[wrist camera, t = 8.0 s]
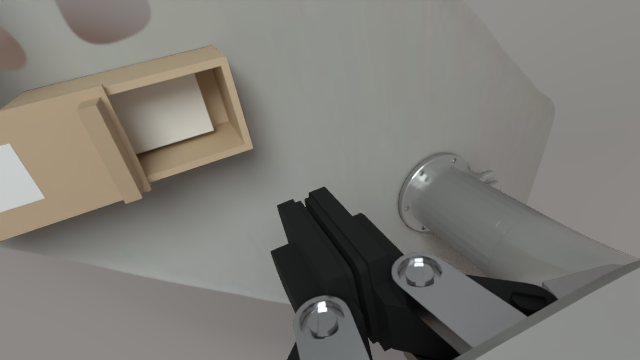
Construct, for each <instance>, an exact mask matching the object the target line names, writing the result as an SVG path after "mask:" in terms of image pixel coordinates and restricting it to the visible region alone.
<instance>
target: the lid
mask: <svg viewBox="0 0 640 360" xmlns="http://www.w3.org/2000/svg"><path fill="white" fill-rule="evenodd" d="M151 190H152V187H151V185H150V183H149V181H148V179H147V177H146V174H145V172H144V170H143V168H142V166H141V164H140V162H139V160H138V158H137V156H136V153H135V151H134V149H133V147H132V145H131V143H130V141H129V139H128V137H127V135H126V132H125V130H124V128H123V126H122V124H121V122H120V120H119V118H118V116H117V114H116V111H115V109H114V107H113V105H112V103H111V101H110V99H109V97H108V95H107V93H106V90H105V88H104V86H103V84H100V85H96V86H92V87H88V88H84V89H80V90H76V91H72V92H68V93H64V94H60V95H56V96H52V97H48V98H44V99H41V100H37V101H33V102H29V103H25V104H21V105H17V106H13V107H9V108H5V109H1V110H0V241H2V240H5V239H8V238H11V237H14V236H17V235H20V234H23V233H26V232H29V231H32V230H35V229H38V228H41V227H44V226H47V225H50V224H53V223H56V222H59V221H62V220H65V219H68V218H71V217H74V216H77V215H80V214H83V213H86V212H89V211H92V210H95V209H98V208H101V207H104V206H107V205H110V204H113V203H116V202H119V201H122V200H124V202H125V204H127V203H130V202H133V201H136V200H139V199H142V198H143V193H145V192H148V191H151Z"/></svg>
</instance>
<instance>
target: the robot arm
mask: <svg viewBox="0 0 640 360" xmlns="http://www.w3.org/2000/svg"><path fill="white" fill-rule="evenodd" d="M492 178H494V173H493V171H492V170H488V171H485V172H483V173H481V174H477V173H475V172H473V171H471V169H470V166H469V165H468V163H467V162H466V161H465V160H464V159H463V158H461V157H459V156H457V155H455V154H452V153H439V154H436V155H433V156H430V157H429V158H427V159H425V160H424V161H422V162H421V163H420V164H419V165H417V166H416V167H415V169H414V170H413V171H412V172H411V173H410V174H409V176H408V177H407V179H406V181H405V183H404V185H403V187H402V189H401V192H400V196H399V212H400V216H401V218H402V220H403V221H404V222H405V223H406V224H407V225H408V226H409V227H410V228H412V229H414V230H416V231H420V232H429V231H432V232H433V233H434V234H435V235H437V236H438V237H439V238H440V239H442V240H443V241H444V242H445V243H447V244H448V245H449V246H450V247H451V248H453V249H454V250H455V251H456V252H458V253H459V254H460V255H461V256H463V257H464V258H465V259H466V260H467V261H469V262H470V263H471V264H472V265H474V266H475V267H476V268H477V269H479V270H480V271H481V272H482V273H484V274H485V275H486V276H487V277H488V278H486V277H479V276H471V275H464V274H463V273H461V272H460V271H458V270H457V269H455V268H454V267H452V266H451V265H449V264H448V263H446V262H445V261H443V260H442V259H440V258H439V257H437V256H435V255H433V254H430V253H425V252H413V253H408V254H406V255H404V254H403V253H402V252H401V251H400V250H399V249H398V248H397V247H396V246H395V245H394V244H393V243H392V242H391V241H390V240H389V239H388V238H387V237H386V236H385V235H384V234H383V233H382V232H381V231H380V230H379V229H378V228H377V227H376V226H375V225H374V224H373V223H372V222H371V221H370V220H369V219H368V218H367V217H366V216H365V215H363V214H362V213H359V214H357V215H355V216H352V215H351V214H350V213H349V212H348V211H347V210H346V209H345V208H344V207H343V206H342V205H341V204H340V202H339V201H338V200H337V199H336V198H335V197H334V196H333V195H332V194H331V193H330V192H329V191H328V190H327V189H326V188H325V187H322V188H319V189H317V190H314V191H312V192H309V197H308V198H306V199H305V205H306V207H305V206H304V205H303V203H302V202H301V201H298V202H295V201H294V200H293V199H292V200H289V201H287V202H284V203H282V204H279V205H277V208H278V211H279V215H280V218H281V221H282V224H283V227H284V230H285V233H286V236H287V240H288V243H289V244H287V245H284V246H282V247H279V248H277V249H275V250H272V251H271V255H272V258H273V261H274V263H275V266H276V269H277V272H278V274H279V277H280V280H281V282H282V284H283V287H284V289H285V292H286V294H287V296H288V298H289V300H290V303H291V305H292V307H293V309H294V311H295V317H294V320H293V329H294V333H295V338H296V342H295V345H294V347H293V349H292V351H291V353H290V355H289V357H288V359H287V360H373V359H372V355H371V350H370V346H369V341H368V338H369V339H370V341H371V342H372V343H373V344H374V343H376V342H379V343H380V345H381V346H382V348H383V349H384V351H386V350H388V349H390V348H393V349H396V350H400V351H403V352H404V355H405V357H406V358H407V360H640V258H637V257H634V256H632V255H629V254H626V253H624V252H621V251H619V250H616V249H614V248H611V247H609V246H607V245H604V244H602V243H600V242H597V241H595V240H593V239H590V238H588V237H586V236H584V235H582V234H580V233H578V232H576V231H574V230H572V229H570V228H568V227H566V226H564V225H562V224H561V223H559V222H557V221H555V220H553V219H551V218H549V217H548V216H546V215H544V214H542V213H540V212H538V211H536V210H535V209H532V208H531V207H529V206H527V205H525V204H523V203H522V202H520V201H518V200H516V199H514V198H512V197H510V196H509V195H507V194H505V193H503V192H501V191H500V190H501V185H500V183H499V182H498V181H497V180H492V181H490V182H488V183H485V182H484V181H488V180H490V179H492ZM306 208H307V209H306Z"/></svg>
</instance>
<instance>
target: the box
mask: <svg viewBox="0 0 640 360" xmlns="http://www.w3.org/2000/svg"><path fill="white" fill-rule="evenodd" d="M100 84H103V86H104V88H105V90H106V93H107V95H108V97H109V99H110V101H111V103H112V105H113V107H114V109H115V111H116V114H117V116H118V118H119V120H120V122H121V124H122V126H123V128H124V130H125V132H126V135H127V137H128V139H129V141H130V143H131V145H132V147H133V149H134V151H135V153H136V156H137V158H138V160H139V162H140V164H141V166H142V168H143V170H144V172H145V174H146V177H147V179H148V181H149V183H150V182H153V181H156V180H160V179H163V178H166V177H169V176H172V175H175V174H178V173H181V172H184V171H187V170H190V169H193V168H196V167H199V166H202V165H205V164H208V163H211V162H214V161H217V160H220V159H223V158H226V157H229V156H232V155H235V154H238V153H241V152H244V151H247V150H250V149H253V146H252V142H251V139H250V135H249V132H248V129H247V125H246V122H245V118H244V115H243V112H242V108H241V105H240V101H239V98H238V95H237V91H236V88H235V84H234V81H233V78H232V74H231V71H230V68H229V64H228V61H227V57H226V56H225V55H224V54H222V53H221V52H220V51H218V50H217V49H215V48H214V47H212V46H207V47H203V48H199V49H195V50H191V51H187V52H183V53H179V54H175V55H171V56H167V57H163V58H159V59H155V60H150V61H146V62H142V63H138V64H134V65H130V66H126V67H122V68H118V69H114V70H110V71H106V72H102V73H98V74H93V75H89V76H85V77H81V78H77V79H73V80H69V81H65V82H61V83H57V84H53V85H49V86H45V87H41V88H36V89H32V90H28V91H24V92H23V93H21V94H20V95H19V96H17V97H16V98H15V99H13V100H12V101H11V102H9V103H8V104H7V105H5V106H4V107H3V108H1V109H5V108H9V107H13V106H17V105H21V104H25V103H29V102H33V101H37V100H41V99H44V98H48V97H52V96H56V95H60V94H64V93H68V92H72V91H76V90H80V89H84V88H88V87H92V86H96V85H100ZM1 109H0V110H1Z"/></svg>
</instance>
